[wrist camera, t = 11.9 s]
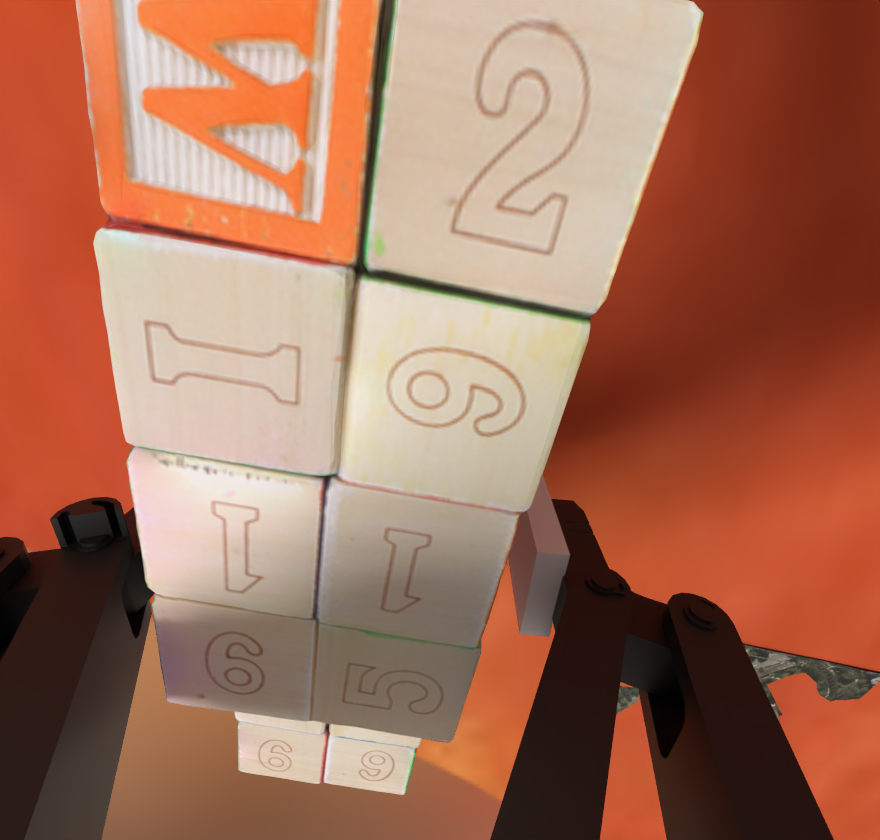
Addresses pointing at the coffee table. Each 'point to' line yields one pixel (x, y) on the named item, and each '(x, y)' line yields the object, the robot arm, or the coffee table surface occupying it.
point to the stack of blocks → (355, 329)
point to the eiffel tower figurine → (776, 665)
